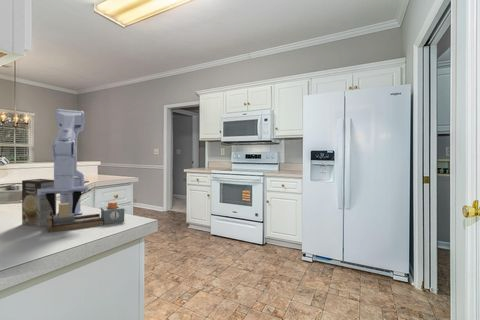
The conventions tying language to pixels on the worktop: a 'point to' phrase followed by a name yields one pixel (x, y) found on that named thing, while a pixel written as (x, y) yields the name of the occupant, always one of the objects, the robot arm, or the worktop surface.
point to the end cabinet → (112, 214)
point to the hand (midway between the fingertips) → (64, 213)
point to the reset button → (112, 205)
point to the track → (75, 223)
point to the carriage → (63, 214)
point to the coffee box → (36, 202)
